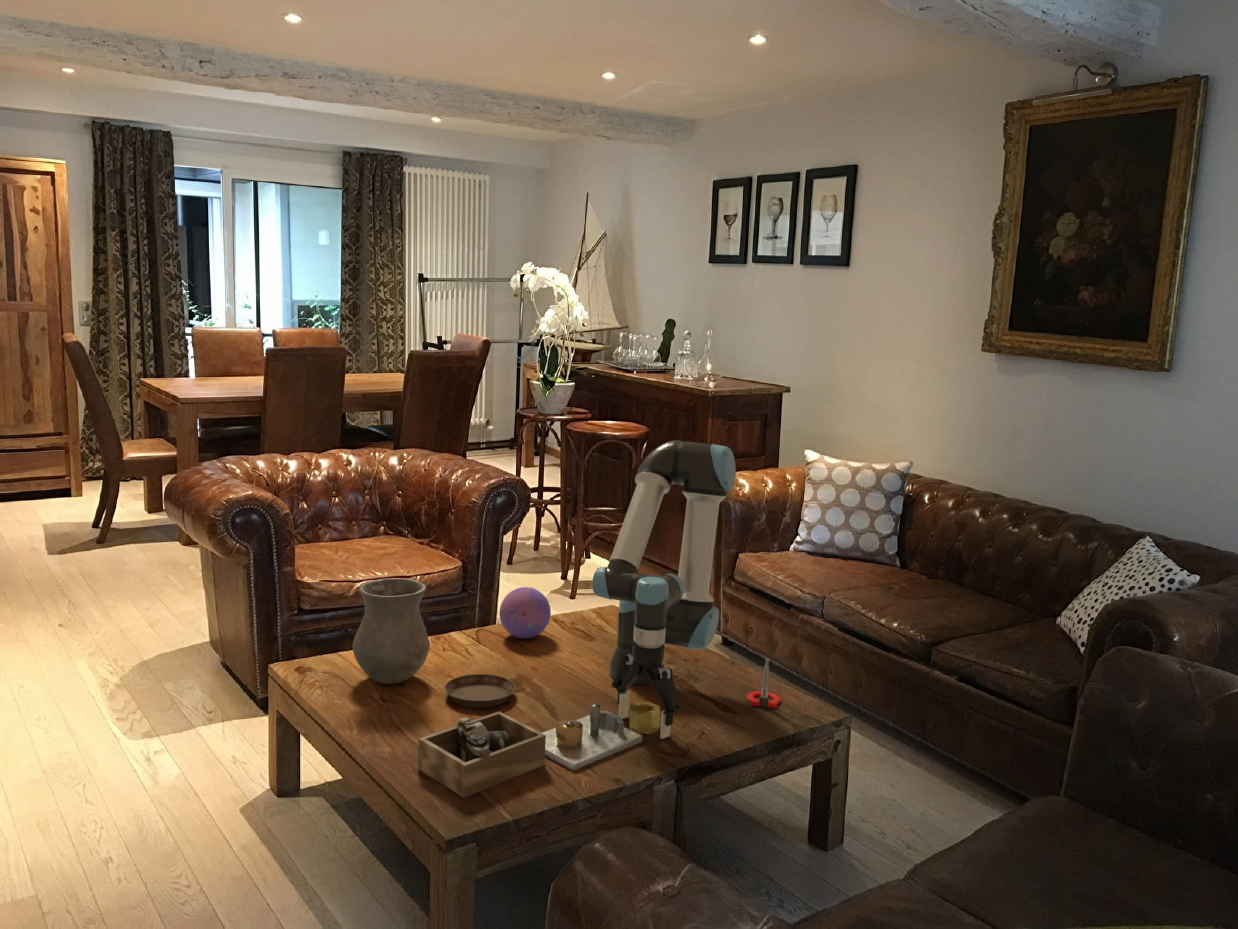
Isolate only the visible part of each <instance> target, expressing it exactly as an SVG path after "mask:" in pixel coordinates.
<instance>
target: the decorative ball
mask: <svg viewBox="0 0 1238 929" xmlns="http://www.w3.org/2000/svg"><path fill="white" fill-rule="evenodd" d="M551 612H552V611H551V605H550V602H549V601H548V599H547V597H546V595H544V594H543V592H541V591H540V590H538V589H535V588H533V587H528V586H524V587H517V588H515V589H513V590H511V591H510V592H509V593H508V594H506V596H505V597H504V598H503V599H502V602H501V603H500V608H499V620H500V623H501V625H502V627H503V628H504V629H505V631H506V632H507V633H508V634H510V635H512V636H513V637H514V638H518V639H522V640H523V639H532V638H535V637H537V636H538V635H540V634H541V633H543V631H545V629H546V628H547V627H548V625H549V623H550V620H551V615H552V613H551Z"/></svg>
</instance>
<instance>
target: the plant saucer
mask: <svg viewBox="0 0 1238 929" xmlns="http://www.w3.org/2000/svg"><path fill="white" fill-rule="evenodd" d="M444 691H445V692H446V695H447V696H448V697H449V699H451V700H452V701H453V702H454V703H456V704H458V705H460V706H463V707H468V708H475V709H482V708H483V709H484V708H492V707H496V706H500V705H502V704H504V703H505V702H506V701H508V700H509V699H510V698H511V696H512V695H513V693H514V692H515V691H516V685H515V683H514V682H513V681H512V680H510V679H508V678H506V677H503V676H500V675H497V674H496V675H495V674H488V673H487V674H485V673H477V674H474V673H473V674H466V675H461V676H457V677H454V678H452V679H450V680H449V681H446V683H445V685H444Z"/></svg>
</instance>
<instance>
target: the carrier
mask: <svg viewBox="0 0 1238 929" xmlns="http://www.w3.org/2000/svg"><path fill="white" fill-rule="evenodd" d="M589 709H590V711H589V714H588V715H586V716H583V717H580V718H578V719H561V720H558V721H557V722H556V723H555V727H554V728H551V729H549V730H546V731H543V732H542V733H543V734H544V735H546V743H545V758H549V759H550V760H552V761H554V762H556V763H558V764H560V765H562V766H563V767H565V768H567V769H569V770H571V771H576V770H579V769H581V768H583V767H585V766H588V765H590V764H593V763H595V762H598V761H600V760H602V759H605V758H607V757H609V756H611V755H614V754H616V753H617V754H618V753H619V752H621V751H624V750H626V749H628V748H631V747H633V746H635V745H637V744H640V743H642V742H643V734H638V733H636V732H634V731H632V730H629V728H627V727H625V722H624V719H621V717H620V716H618V714H616V713H614V712H611V711H608V710H603V709H601V705H600V704H599V703H591V704H590V708H589Z"/></svg>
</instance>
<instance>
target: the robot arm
mask: <svg viewBox="0 0 1238 929" xmlns="http://www.w3.org/2000/svg"><path fill="white" fill-rule="evenodd" d="M735 459H736V458H735V456H734V454H733V450H731V448H730V447H729V446H726V445H725V446H724V445H720V444H716V443H705V442H704V443H703V442H696V441H695V442H694V441H683V440H670V441H667V442H665V443H662V444H661V445H659V446H658V447H656V448H654V450H652V451H651V452H650V453H649V454H648V455H647V456H646V458H645V459H643V461H642V463H641V464H640V466H639V468H638V469H637V473H636V474H635V478H634V482H635V484H636V486H635V489H634V492H633V495H632V497H631V501H630V503H629V506H628V508H627V511H626V514H625V516H624V519H623V522H622V526H621V528H620V531H619V534H618V536H617V539H616V542H615V544H614V547H613V551H612V553H611V556H610V558H609V562H608V565H607V566H600V567H597V569H596V570H595V571H594V573H593V576H592V580H591V581H592V582H591V588H592V592H593V593H594V595H595V596H597V597H599V598H603V599H607V600H613V601H614V600H615V601H619V605H618V606H619V607H618V609H617V614H618V616H617V633H616V634H617V636H616V638H617V639H616V647H615V649H614V652H613V655H612V658H611V660H610V662H609V666H608V674H609V676H610V678H612V679H613V681H612V683H611V687H612V688H613V689H614V688H615V689H616V692H617V705H618V714H617V715H618V716H620V717H621V719H622V720H624V719H626V718H629V711H630V691H628V690H629V688H630V687H631V686H632V685H636V686H638V685H640V686H641V685H642V686H643V685H650V687H651V688H653V690H654V693H655V694H656V696H657V698H658V701H659V702H660V704H661V707H662V709H663V711H660V713H661V714H660V726H659V728H660V729H659V730H660V731H659V739H661V740H663V739H666V738H668V737H670V736H671V726H672V725H673V724H674V713H677V712H680V711H681V709H682V708H681V704H680V700H679V697H678V693H677V689H676V686H675V682H674V678H673V676H674V675H673V669H672V668H668V669H665V668H666V667H665V664H664V663H663V661H664V658H665V645H669V646H677V647H681V648H685V649H688V650H700V651H702V650H706V649H707V648H709V646H710V645H711V643H712V642H713V639H714V637H715V635H716V632H717V628H718V624H719V619H720V610H719V608H717V606H714V602H715V599H714V597H713V596H712V595H711V593H710V585H711V584H710V583H711V579H712V578H711V576H712V569H713V568H712V567H713V559H714V551H715V544H716V534H717V528H718V519H719V518H718V516H719V510H720V503H721V502H722V501H723V500H725V499H726V498H727V492H731V491H733V489H734V487H735V482H736V477H737V476H736V474H737V473H736V472H737V471H736V469H737V468H736V460H735ZM672 485H680V486H682V494H683V495H684V497H685V498H686V507H685V516H684V522H683V524H684V525H683V532H682V540H681V541H682V542H681V550H680V557H679V566H678V574H674V573H669V572H668V573H665V574H662V575H656V574H655V575H653V574H648V573H643V572H642V573H641V572H638V570H639V567H640V564H641V561H642V558H643V556H644V553H645V551H646V546H647V545H648V542H649V538H650V535H651V533H652V529H653V527H654V525H655V522H656V521H655V520H656V519H657V517H658V516H657V515H658V513H659V509H660V506H661V503H662V502H663V498H664V495H665V494H668V493H669V491H670V490H671V486H672Z"/></svg>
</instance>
